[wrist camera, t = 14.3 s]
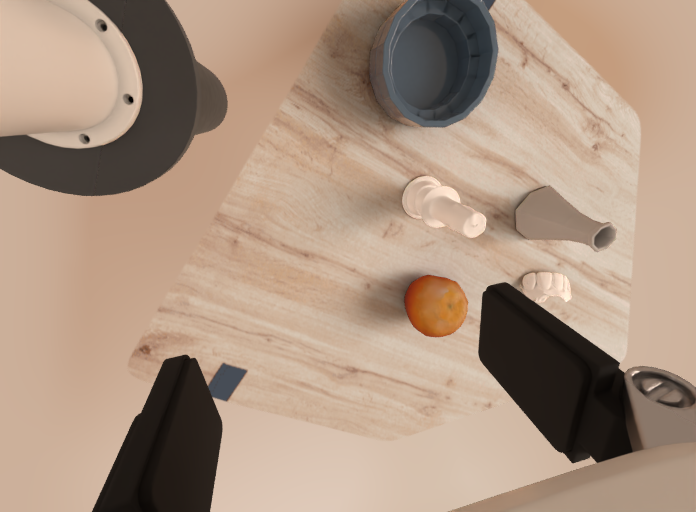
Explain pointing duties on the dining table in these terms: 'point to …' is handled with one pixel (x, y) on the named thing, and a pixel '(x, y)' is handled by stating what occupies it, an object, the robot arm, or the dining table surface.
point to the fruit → (435, 305)
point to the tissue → (546, 286)
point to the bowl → (434, 61)
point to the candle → (441, 207)
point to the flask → (560, 221)
